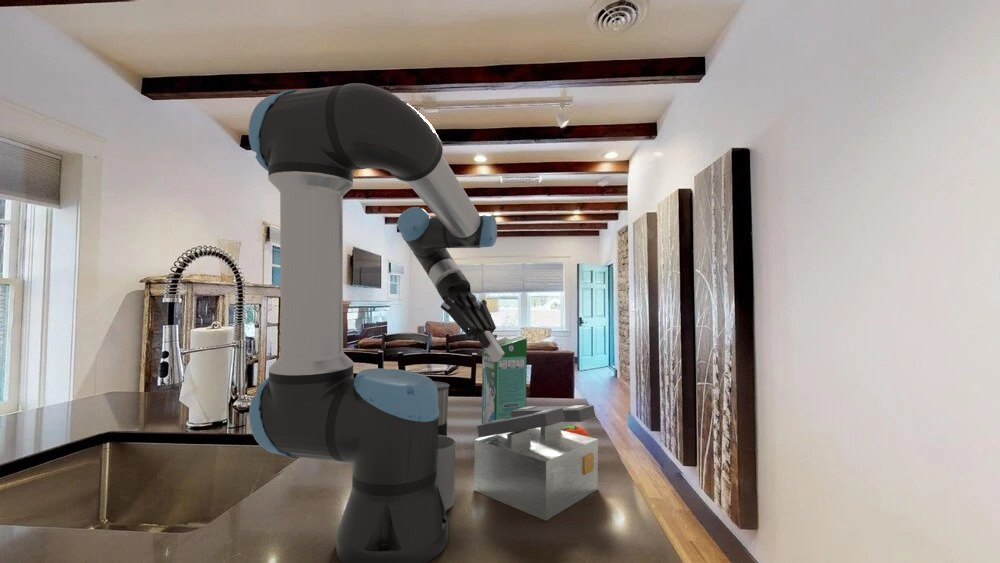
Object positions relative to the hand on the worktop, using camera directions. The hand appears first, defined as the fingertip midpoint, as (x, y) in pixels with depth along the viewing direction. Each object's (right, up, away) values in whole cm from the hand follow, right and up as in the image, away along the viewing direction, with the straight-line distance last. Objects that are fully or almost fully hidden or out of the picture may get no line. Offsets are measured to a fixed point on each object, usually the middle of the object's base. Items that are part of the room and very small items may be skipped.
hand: (499, 357), depth 92 cm
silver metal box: (+7, -21, -14) cm, 26 cm away
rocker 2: (+10, -9, -10) cm, 17 cm away
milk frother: (-20, -23, +7) cm, 31 cm away
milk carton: (+1, -24, +23) cm, 33 cm away
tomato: (+16, -23, +2) cm, 28 cm away
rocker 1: (+4, -9, -17) cm, 20 cm away
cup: (-12, -21, -19) cm, 31 cm away
